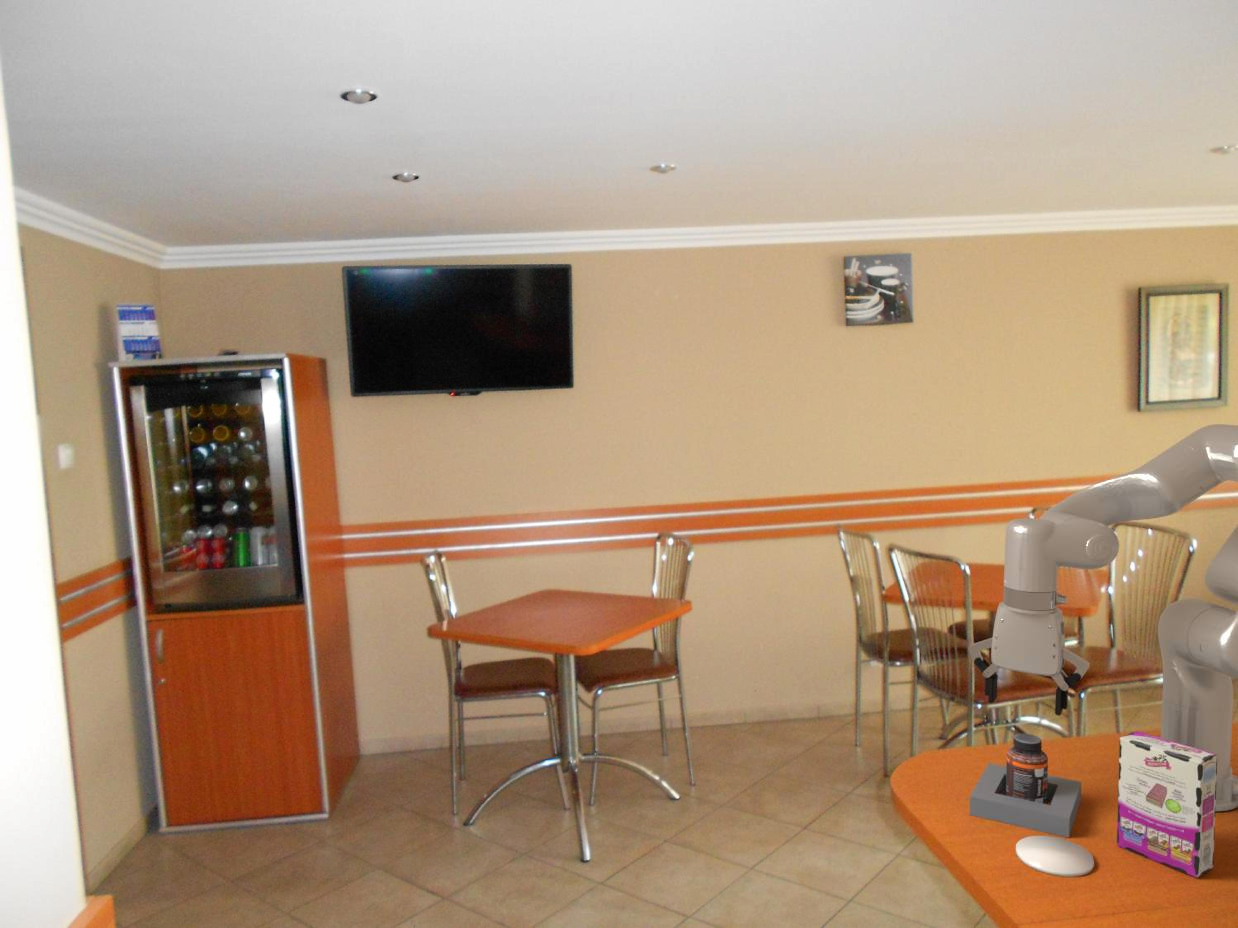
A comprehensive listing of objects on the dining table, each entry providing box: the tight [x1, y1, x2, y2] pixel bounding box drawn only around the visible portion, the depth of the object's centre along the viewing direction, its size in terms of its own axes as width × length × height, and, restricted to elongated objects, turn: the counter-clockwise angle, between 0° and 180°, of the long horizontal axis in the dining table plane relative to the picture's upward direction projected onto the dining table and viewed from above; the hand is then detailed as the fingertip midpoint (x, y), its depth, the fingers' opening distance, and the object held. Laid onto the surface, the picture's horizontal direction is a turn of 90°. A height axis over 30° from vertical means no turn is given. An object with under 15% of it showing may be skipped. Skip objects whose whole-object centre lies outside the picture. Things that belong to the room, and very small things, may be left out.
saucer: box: [1015, 835, 1095, 878], centre depth 130 cm, size 10×10×1 cm
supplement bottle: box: [1005, 733, 1049, 805], centre depth 145 cm, size 6×6×11 cm
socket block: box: [969, 763, 1082, 838], centre depth 145 cm, size 14×14×3 cm
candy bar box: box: [1116, 730, 1217, 879], centre depth 129 cm, size 11×5×16 cm, turn 34°
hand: (1025, 706), depth 144 cm, fingers open, 9 cm apart
